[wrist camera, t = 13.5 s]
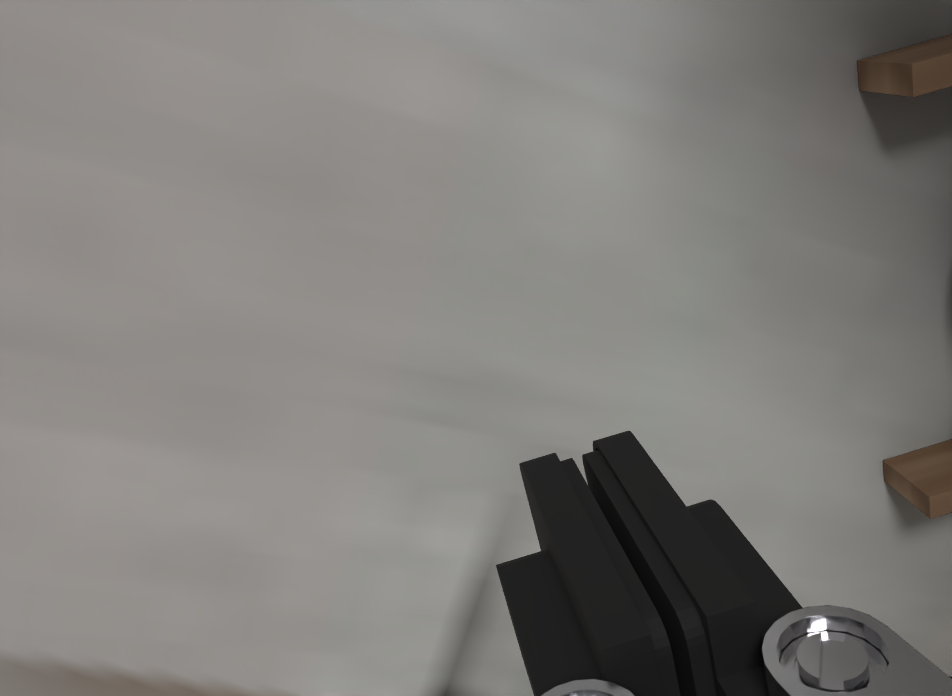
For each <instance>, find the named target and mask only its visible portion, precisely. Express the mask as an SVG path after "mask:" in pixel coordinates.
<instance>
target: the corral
mask: <svg viewBox="0 0 952 696" xmlns="http://www.w3.org/2000/svg"><path fill="white" fill-rule="evenodd" d="M857 64H858V79H859V91H868V92H876V93H884V94H892V95H901V96H909V97H915V96H919V95H922V94H926V93H929V92H933V91H937V90H940V89H944V88H947V87H951V86H952V34H951V35H947V36H944V37H940V38H937V39H933V40H929V41H926V42H922V43H919V44H915V45H911V46H908V47H904V48H901V49H897V50H893V51H890V52H886V53H883V54H879V55H875V56H872V57H868V58H865V59H861V60H857ZM883 468H884V481H885V482H886V483H887V484H889V485H890V486H891V487H892V488H894V489H895V490H896V491H897V492H898V493H900V494H901V495H902V496H903V497H904V498H906V499H907V500H908V501H909V502H911V503H912V504H913V505H914V506H915V507H917V508H918V509H919V510H920V511H921V512H923V513H924V514H925V515H926V516H928V517H929V518H930V519H931V518H935V517H938V516H941V515H944V514H947V513H951V512H952V439H951V440H948V441H945V442H942V443H938V444H935V445H932V446H929V447H925V448H922V449H919V450H916V451H912V452H909V453H906V454H903V455H899V456H896V457H893V458H890V459H886V460H883Z"/></svg>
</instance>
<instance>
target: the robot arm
mask: <svg viewBox="0 0 952 696" xmlns="http://www.w3.org/2000/svg"><path fill="white" fill-rule="evenodd" d="M582 458H583V465H584V469H585V474H586V478H587V482H588V485H587V483H586V482H585V480H584V478H583V476H582V474H581V473H580V471H579V469H578V467H577V465H576V464H575V462H574V460H573V459H572V458H570V459H567V460H563V461H560V460H559V458H558V456H557V455H556V453H552V454H549V455H546V456H542V457H539V458H536V459H532V460H529V461H526V462H522V463H520V470H521V474H522V479H523V482H524V486H525V490H526V494H527V498H528V502H529V505H530V509H531V513H532V517H533V521H534V525H535V529H536V532H537V536H538V540H539V544H540V548H541V551H540V552H537V553H534V554H531V555H527V556H524V557H521V558H518V559H514V560H511V561H508V562H504V563H501V564H498V565H496V567H497V571H498V574H499V578H500V581H501V585H502V588H503V592H504V595H505V599H506V602H507V606H508V609H509V613H510V616H511V619H512V623H513V626H514V630H515V633H516V637H517V640H518V643H519V647H520V650H521V654H522V657H523V660H524V664H525V667H526V670H527V674H528V677H529V680H530V684H531V687H532V690H533V694H534V696H952V677H950V676H947V675H946V674H945V673H944V672H943V671H941V670H940V669H939V668H938V667H936V666H935V665H934V664H933V663H932V662H930V661H929V660H928V659H927V658H925V657H924V656H923V655H922V654H921V653H919V652H918V651H917V650H916V649H914V648H913V647H912V646H911V645H910V644H908V643H907V642H906V641H905V640H904V639H902V638H901V637H900V636H899V635H897V634H896V633H895V632H894V631H893V630H891V629H890V628H889V627H888V626H886V625H885V624H883V623H882V622H880V621H878V620H877V619H875V618H874V617H872V616H870V615H868V614H865V613H862V612H859V611H857V610H854V609H851V608H845V607H838V606H830V605H825V606H812V607H805V608H802V607H801V605H800V604H799V603H798V602H797V600H796V599H795V598H794V597H793V596H792V594H791V593H790V592H789V591H788V589H787V588H786V587H785V586H784V584H783V583H782V582H781V581H780V579H779V578H778V577H777V576H776V574H775V573H774V572H773V571H772V570H771V568H770V567H769V566H768V565H767V563H766V562H765V561H764V560H763V558H762V557H761V556H760V555H759V553H758V552H757V551H756V550H755V548H754V547H753V546H752V545H751V544H750V542H749V541H748V540H747V539H746V537H745V536H744V535H743V534H742V532H741V531H740V530H739V529H738V527H737V526H736V525H735V524H734V522H733V521H732V520H731V519H730V517H729V516H728V515H727V514H726V513H725V511H724V510H723V509H722V508H721V506H720V505H719V504H718V503H717V502H716V501H714V500H707V501H704V502H700V503H697V504H694V505H691V506H687V507H686V506H685V504H684V503H683V501H682V500H681V499H680V497H679V496H678V495H677V493H676V492H675V491H674V489H673V488H672V487H671V485H670V484H669V482H668V481H667V480H666V478H665V477H664V476H663V474H662V473H661V472H660V470H659V469H658V467H657V466H656V465H655V463H654V462H653V461H652V459H651V458H650V457H649V455H648V454H647V453H646V451H645V450H644V448H643V447H642V446H641V444H640V443H639V442H638V440H637V439H636V438H635V436H634V435H633V434H632V433H631V431H626V432H622V433H619V434H616V435H612V436H609V437H606V438H602V439H599V440H596V441H593V452H590V453H587V454H583V456H582Z"/></svg>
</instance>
